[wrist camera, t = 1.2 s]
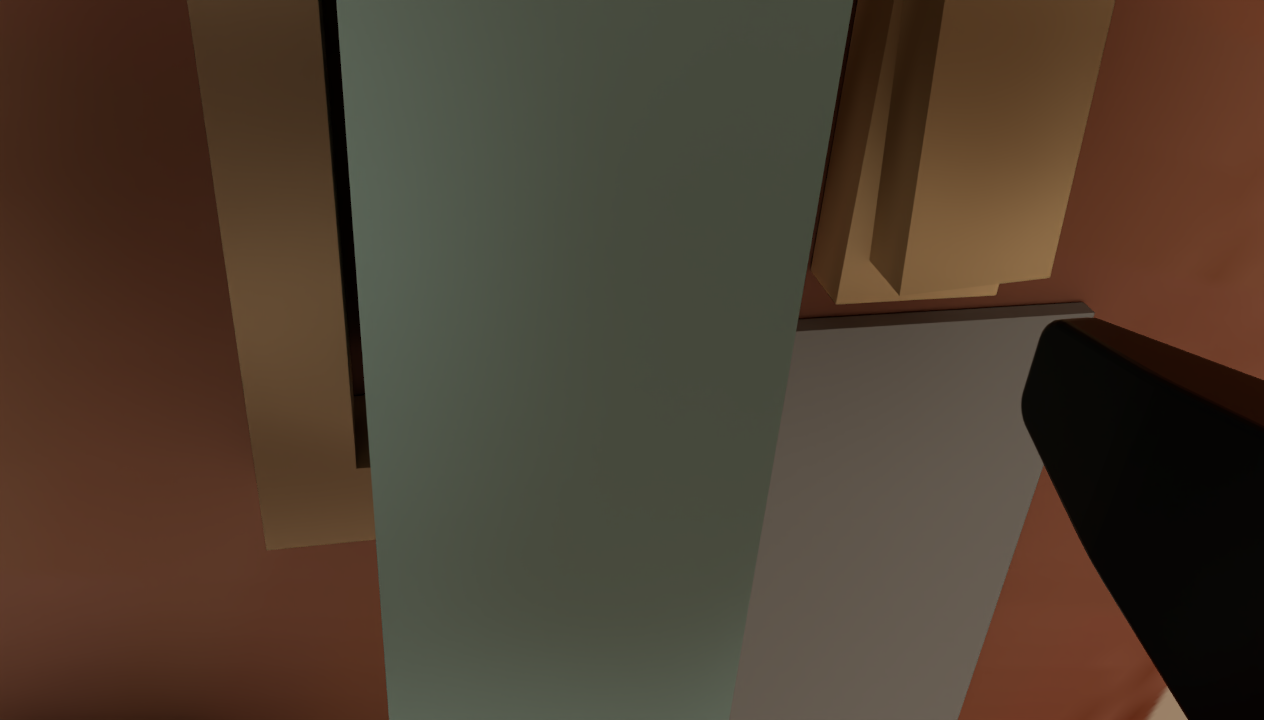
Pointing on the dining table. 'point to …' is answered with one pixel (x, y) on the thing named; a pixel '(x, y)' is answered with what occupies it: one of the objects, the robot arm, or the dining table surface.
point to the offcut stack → (955, 145)
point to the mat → (890, 513)
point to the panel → (578, 335)
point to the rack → (285, 264)
